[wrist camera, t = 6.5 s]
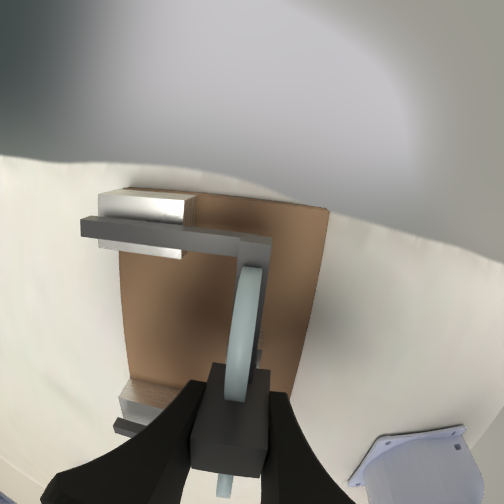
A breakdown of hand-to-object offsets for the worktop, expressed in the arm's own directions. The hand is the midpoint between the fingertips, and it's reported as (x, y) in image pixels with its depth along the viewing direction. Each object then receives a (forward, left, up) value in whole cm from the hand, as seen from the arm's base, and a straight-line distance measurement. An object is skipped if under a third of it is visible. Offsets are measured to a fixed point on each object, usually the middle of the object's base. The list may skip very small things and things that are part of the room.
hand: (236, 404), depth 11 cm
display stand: (+2, 0, -6) cm, 6 cm away
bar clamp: (+3, 0, -2) cm, 4 cm away
